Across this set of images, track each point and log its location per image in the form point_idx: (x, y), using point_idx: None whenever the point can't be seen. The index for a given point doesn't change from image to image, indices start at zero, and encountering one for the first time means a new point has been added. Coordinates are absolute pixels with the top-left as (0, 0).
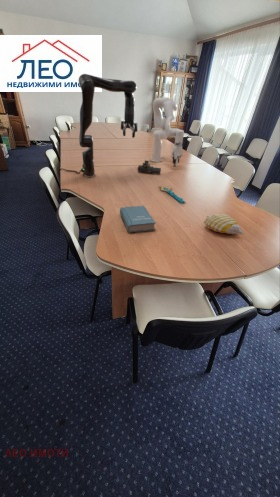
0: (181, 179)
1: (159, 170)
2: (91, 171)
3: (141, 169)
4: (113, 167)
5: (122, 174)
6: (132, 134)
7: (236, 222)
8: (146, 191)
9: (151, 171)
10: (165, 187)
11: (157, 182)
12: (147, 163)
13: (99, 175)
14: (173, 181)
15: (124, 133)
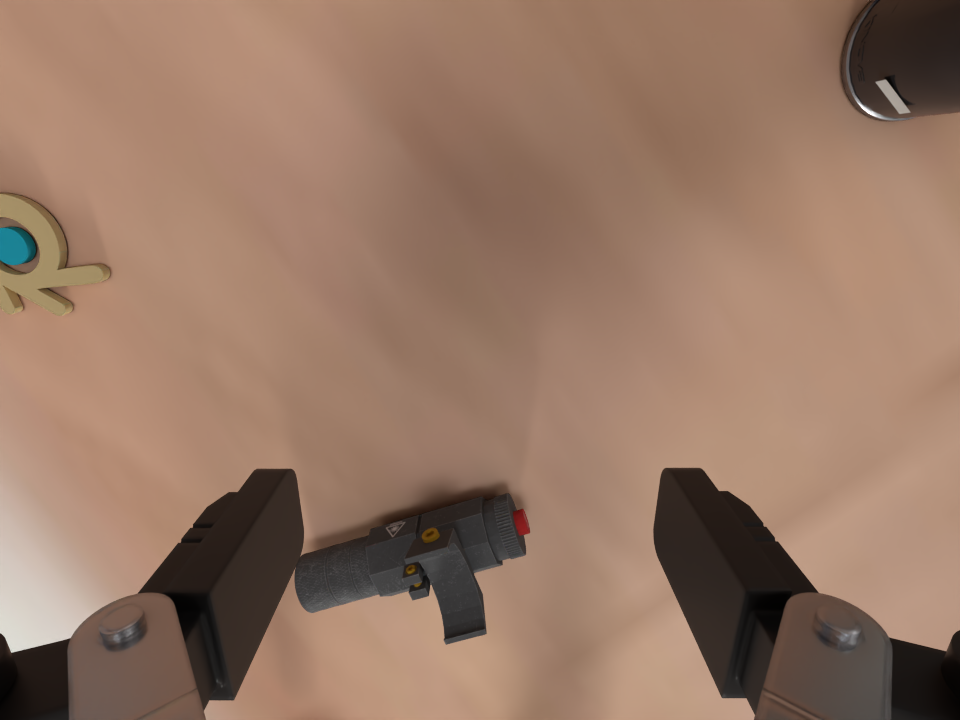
0: (113, 567)
1: (302, 571)
2: (904, 5)
3: (471, 509)
4: (789, 457)
5: (602, 342)
6: (239, 531)
7: None
8: (115, 69)
9: (375, 533)
10: (36, 276)
11: (207, 372)
12: (447, 608)
13: (800, 145)
14: (126, 485)
15: (692, 542)
